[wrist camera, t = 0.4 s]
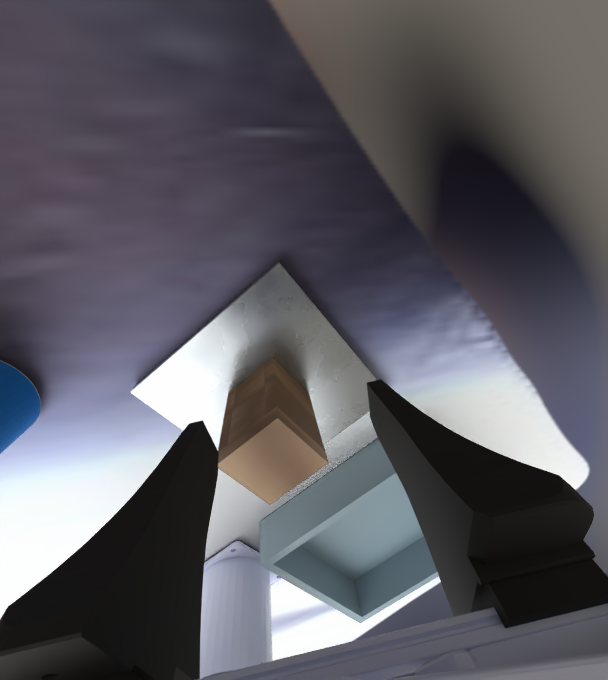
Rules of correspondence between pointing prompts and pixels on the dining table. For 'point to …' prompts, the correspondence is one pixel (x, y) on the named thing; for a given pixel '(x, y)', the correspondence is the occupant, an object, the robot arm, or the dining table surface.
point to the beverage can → (16, 404)
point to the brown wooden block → (270, 434)
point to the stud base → (260, 359)
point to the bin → (350, 538)
